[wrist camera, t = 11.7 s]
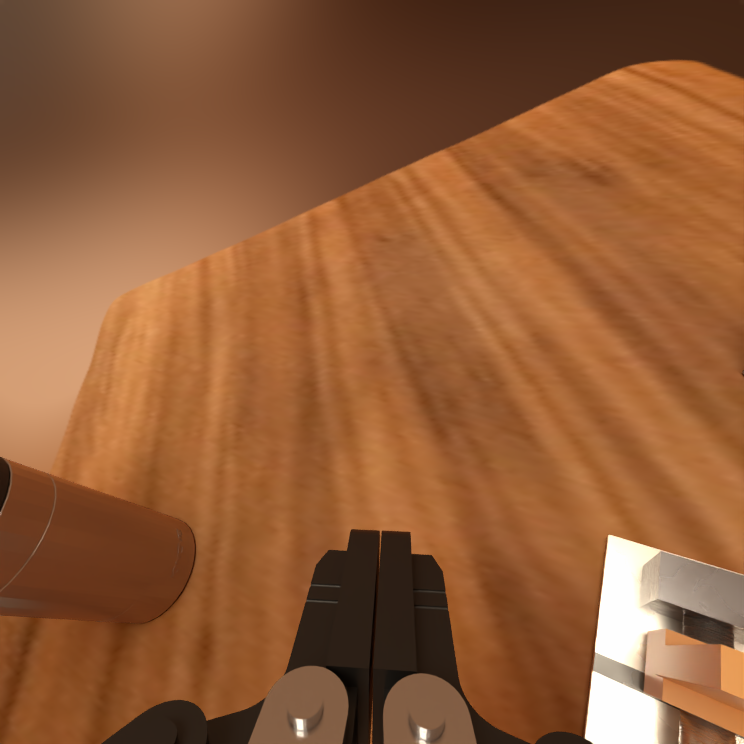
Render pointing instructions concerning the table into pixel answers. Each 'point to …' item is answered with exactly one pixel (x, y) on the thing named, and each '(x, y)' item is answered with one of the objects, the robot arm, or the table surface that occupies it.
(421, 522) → the table surface
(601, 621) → the pipe stand
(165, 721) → the robot arm
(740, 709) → the orange wooden plank
